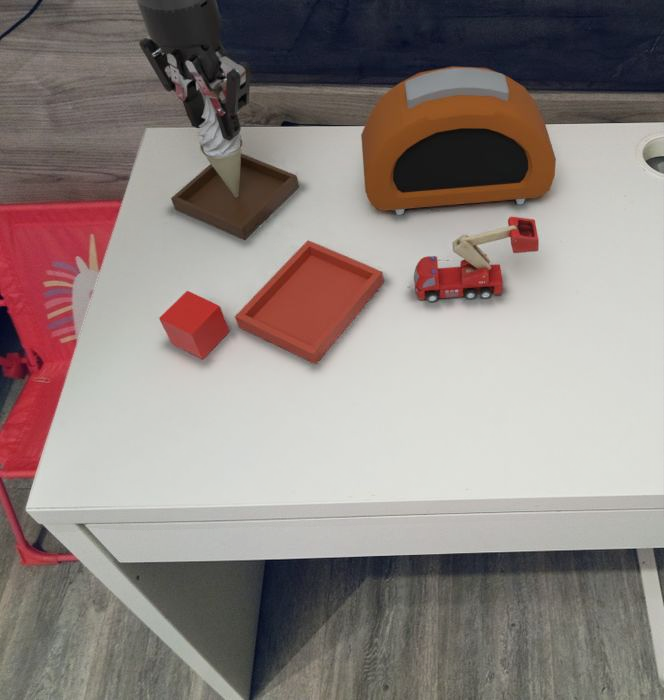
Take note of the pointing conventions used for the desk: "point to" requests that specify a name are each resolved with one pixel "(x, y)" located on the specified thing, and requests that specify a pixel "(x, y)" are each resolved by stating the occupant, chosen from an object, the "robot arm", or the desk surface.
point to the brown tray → (236, 212)
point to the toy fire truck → (473, 264)
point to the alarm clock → (455, 142)
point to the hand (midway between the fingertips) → (216, 129)
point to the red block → (194, 324)
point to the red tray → (310, 301)
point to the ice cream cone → (221, 149)
